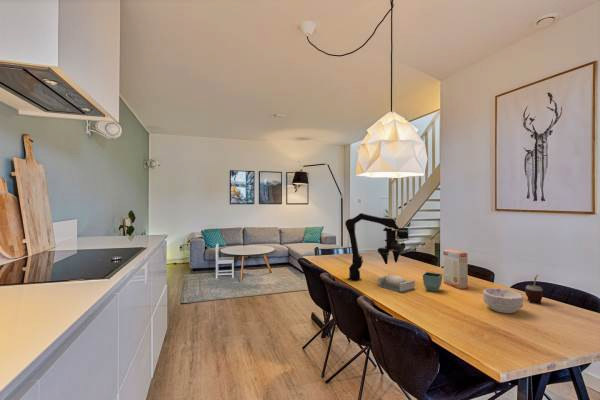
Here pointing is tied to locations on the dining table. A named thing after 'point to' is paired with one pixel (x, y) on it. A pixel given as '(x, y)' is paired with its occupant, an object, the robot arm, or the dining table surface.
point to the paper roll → (395, 279)
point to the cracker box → (455, 268)
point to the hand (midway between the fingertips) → (391, 263)
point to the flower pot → (432, 281)
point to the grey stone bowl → (503, 300)
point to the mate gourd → (534, 293)
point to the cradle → (402, 288)
